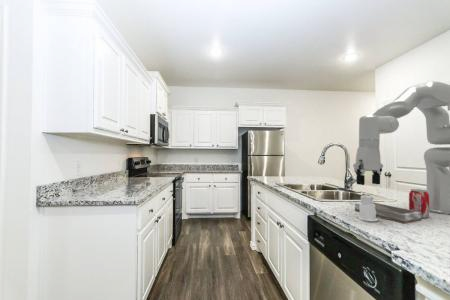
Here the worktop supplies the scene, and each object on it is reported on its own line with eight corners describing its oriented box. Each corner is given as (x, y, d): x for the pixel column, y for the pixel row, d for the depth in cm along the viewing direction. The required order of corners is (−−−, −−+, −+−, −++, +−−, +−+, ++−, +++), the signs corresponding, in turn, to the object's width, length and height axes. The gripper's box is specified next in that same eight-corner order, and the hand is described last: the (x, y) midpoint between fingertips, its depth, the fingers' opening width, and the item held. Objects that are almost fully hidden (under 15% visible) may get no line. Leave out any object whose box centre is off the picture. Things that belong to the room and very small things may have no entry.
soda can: (433, 219, 99) (433, 191, 100) (414, 218, 101) (414, 191, 101) (422, 215, 106) (422, 189, 107) (405, 214, 108) (405, 188, 108)
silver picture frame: (371, 208, 118) (371, 201, 118) (421, 220, 98) (421, 212, 98) (354, 210, 113) (354, 203, 113) (404, 223, 93) (404, 214, 93)
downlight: (382, 221, 95) (381, 197, 96) (368, 222, 94) (367, 198, 94) (367, 217, 103) (366, 194, 104) (353, 218, 101) (352, 195, 102)
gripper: (373, 145, 105) (373, 182, 105) (346, 143, 99) (346, 183, 98) (391, 145, 98) (390, 184, 98) (363, 143, 92) (362, 186, 91)
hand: (368, 184), depth 98 cm, fingers open, 9 cm apart
